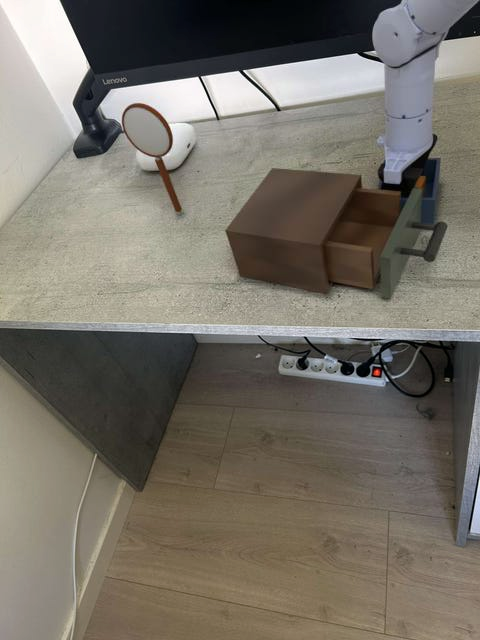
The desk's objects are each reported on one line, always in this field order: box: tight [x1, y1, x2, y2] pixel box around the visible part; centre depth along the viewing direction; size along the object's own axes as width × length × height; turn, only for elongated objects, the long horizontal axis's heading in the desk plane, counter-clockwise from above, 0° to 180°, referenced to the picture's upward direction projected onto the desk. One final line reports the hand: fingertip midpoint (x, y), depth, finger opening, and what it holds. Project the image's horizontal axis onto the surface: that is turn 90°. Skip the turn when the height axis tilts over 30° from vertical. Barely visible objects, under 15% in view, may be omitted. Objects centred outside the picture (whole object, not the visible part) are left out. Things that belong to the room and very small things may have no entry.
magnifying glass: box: [121, 102, 183, 216], centre depth 78 cm, size 9×2×20 cm, turn 65°
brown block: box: [415, 176, 425, 198], centre depth 71 cm, size 4×3×4 cm, turn 62°
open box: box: [376, 157, 442, 224], centre depth 71 cm, size 10×8×4 cm
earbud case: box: [135, 122, 197, 172], centre depth 98 cm, size 10×13×5 cm
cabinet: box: [225, 167, 363, 295], centre depth 68 cm, size 14×15×9 cm
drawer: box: [323, 187, 449, 299], centre depth 63 cm, size 17×13×7 cm
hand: (407, 196), depth 71 cm, fingers open, 5 cm apart
